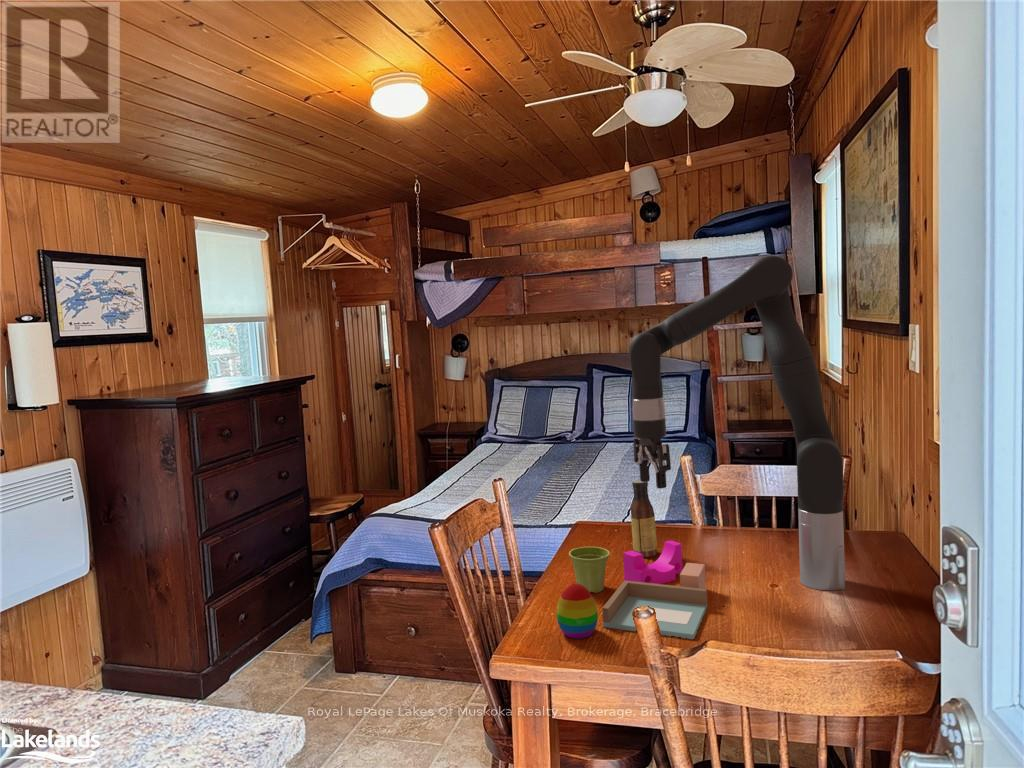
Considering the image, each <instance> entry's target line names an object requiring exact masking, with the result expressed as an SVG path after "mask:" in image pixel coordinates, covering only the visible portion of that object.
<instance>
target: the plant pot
mask: <svg viewBox="0 0 1024 768" xmlns="http://www.w3.org/2000/svg"><path fill="white" fill-rule="evenodd" d="M568 556H569V557H570V559H571V562H572V564H573V570H574V576H575V582H576V583H577V584H581V585H583V586H584V587H585V588H587V589H588V591H589V592H590V593H594V594H595V593H596V594H597V593H600V592H603V590H604V588H605V579H606V571H607V563H608V560H609V556H610V551H609V550H608V549H606V548H603V547H599V546H581V547H576V548H572V549H571V550H570V551H569V552H568Z"/></svg>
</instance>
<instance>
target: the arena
mask: <svg viewBox="0 0 1024 768" xmlns="http://www.w3.org/2000/svg"><path fill="white" fill-rule="evenodd" d="M707 590H708V589H707V588H706V589H700V588H691V587H681V586H680V585H671V584H664V583H663V584H653V583H644V582H634V581H625V580H623V581H622V582H621V584H620V585H619V586H618V587H617V589H616V590H615V592H614V593H613V594H612V595H611V596H610V598H609V599H608V601H606V603H605V604H603V606H602V609H601V610H602V625H603V628H606V629H615V630H622V631H630V632H636V628H635V624H634V620H633V616H632V612H633V610H634V609H635V608H637V607H640V606H649V607H652V608H654V609H655V612H656V619H657V622H658V625H659V628H660V632H661V635H660V636H664V637H665V635H666V637H671V636H675V637H674V638H678V637H681V639H686V638H687V639H686V640H693V639H695V637H696V636H697V633H698V631H699V628H700V626H701V624H700V623H702V621H703V619H704V617H703V616H705V615H706V612H707V610H706V609H708V591H707ZM702 618H703V619H702ZM697 630H698V631H697ZM636 633H637V632H636Z"/></svg>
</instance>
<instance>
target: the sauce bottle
mask: <svg viewBox="0 0 1024 768" xmlns="http://www.w3.org/2000/svg"><path fill="white" fill-rule="evenodd" d="M631 484H632V485H631V486H632V490H633V500H632V502H631V504H630V523H631V535H632V548H633V551H635V552H638V553H640V554H642V555H643V558H652V557H654V556H655V557H656V555H657V554H658V542H657V529H656V517H655V511H654V510H655V509H654V506H653V505H652V503H651V501H650V498H649V491H648V487H649V481H647V482H642V481H640V479H634V480H632V483H631Z"/></svg>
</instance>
